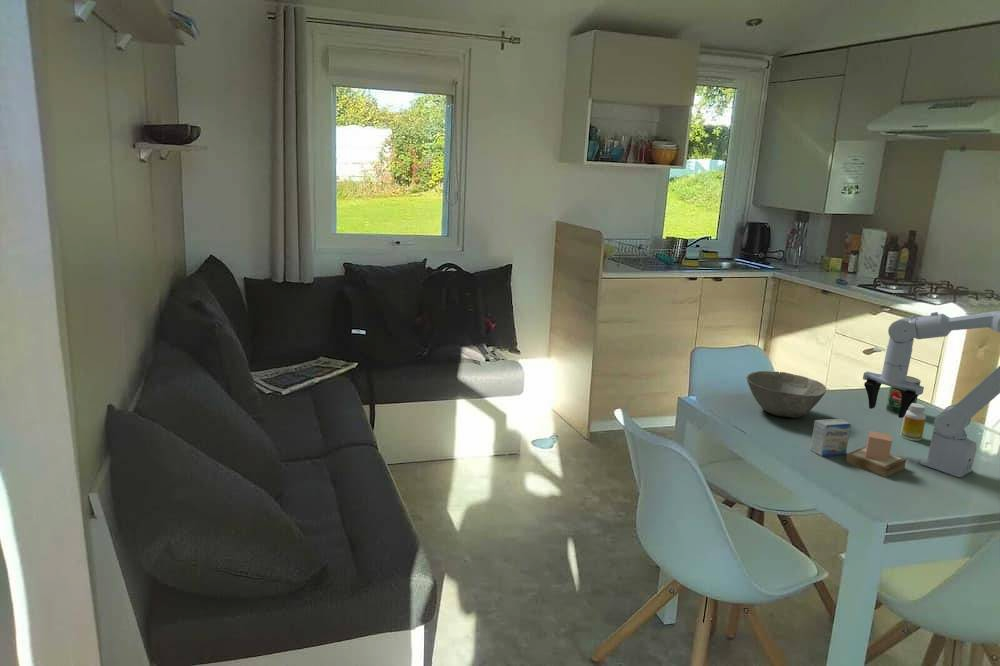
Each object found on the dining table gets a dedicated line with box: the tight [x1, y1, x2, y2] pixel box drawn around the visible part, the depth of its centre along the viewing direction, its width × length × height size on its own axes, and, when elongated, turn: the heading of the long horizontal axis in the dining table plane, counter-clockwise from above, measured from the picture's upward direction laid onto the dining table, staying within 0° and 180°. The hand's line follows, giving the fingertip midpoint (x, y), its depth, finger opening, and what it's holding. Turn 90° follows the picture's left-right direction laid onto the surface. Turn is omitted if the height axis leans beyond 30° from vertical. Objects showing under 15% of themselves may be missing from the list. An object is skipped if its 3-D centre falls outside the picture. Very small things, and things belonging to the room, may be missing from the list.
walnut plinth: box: [845, 445, 907, 478], centre depth 180 cm, size 10×10×2 cm
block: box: [866, 430, 893, 462], centre depth 179 cm, size 5×5×6 cm
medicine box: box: [809, 418, 852, 457], centre depth 187 cm, size 8×4×9 cm, turn 105°
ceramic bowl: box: [745, 370, 827, 419], centre depth 214 cm, size 22×23×10 cm
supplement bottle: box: [899, 402, 927, 442], centre depth 200 cm, size 5×5×10 cm
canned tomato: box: [885, 375, 921, 416], centre depth 220 cm, size 8×8×11 cm
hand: (886, 412), depth 189 cm, fingers open, 7 cm apart
